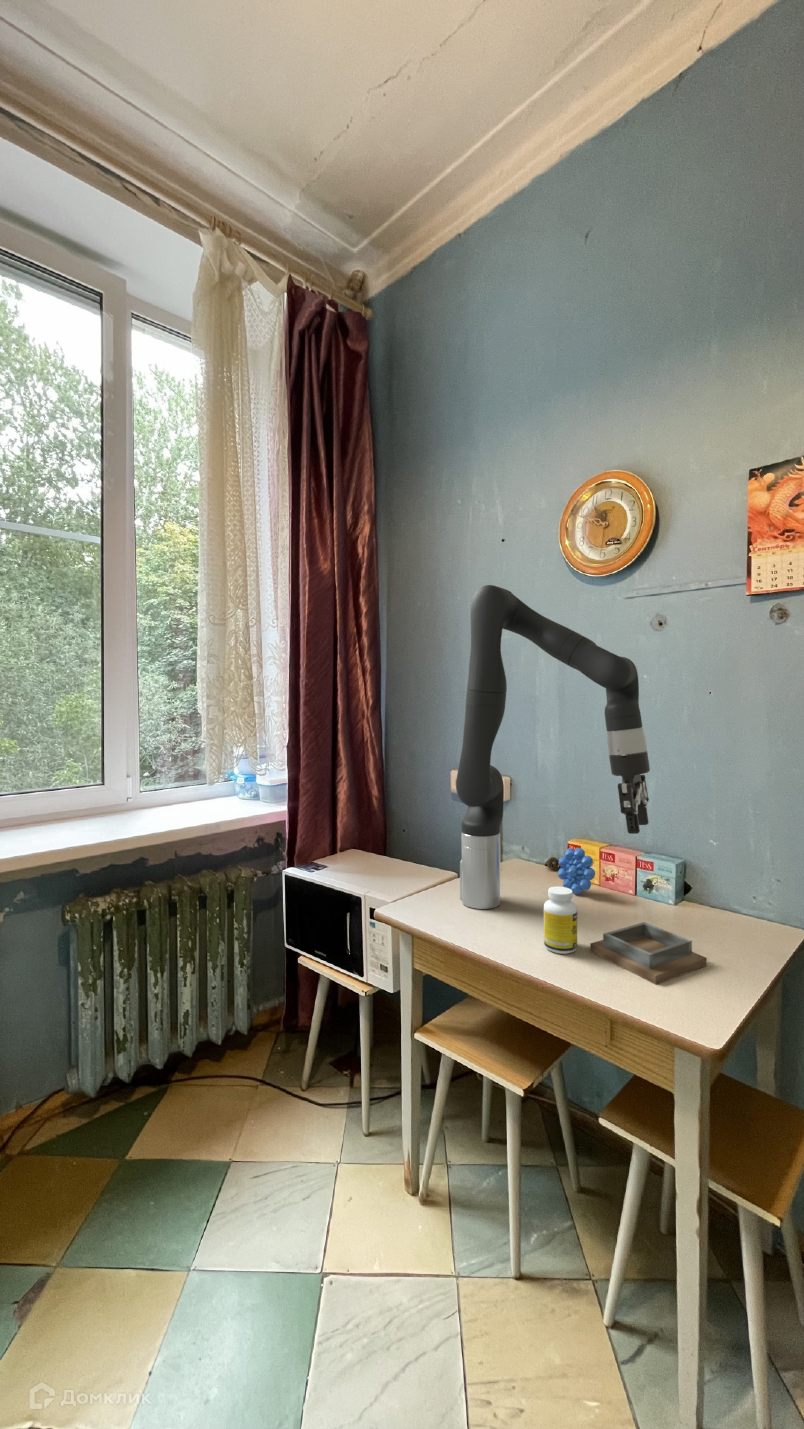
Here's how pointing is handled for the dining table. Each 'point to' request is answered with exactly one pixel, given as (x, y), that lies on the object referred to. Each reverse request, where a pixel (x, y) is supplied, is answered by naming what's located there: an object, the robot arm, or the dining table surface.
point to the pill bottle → (560, 921)
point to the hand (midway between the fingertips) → (638, 828)
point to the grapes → (576, 870)
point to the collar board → (649, 952)
